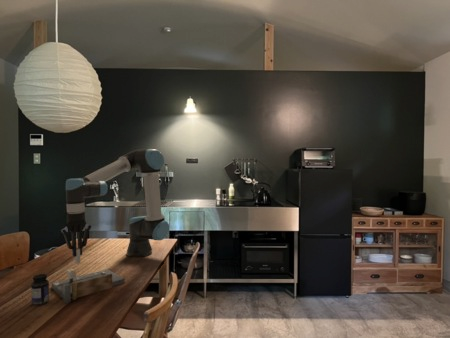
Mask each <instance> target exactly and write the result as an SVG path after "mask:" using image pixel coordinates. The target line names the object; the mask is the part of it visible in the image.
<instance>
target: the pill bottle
mask: <svg viewBox="0 0 450 338" xmlns="http://www.w3.org/2000/svg"><path fill="white" fill-rule="evenodd" d="M47 278H48V277H47V274H46V273H39V274H35V275H34V276H33V277H32V279H33V280H32V283H31V286H30V290H31V291H30V292H31V296H30V297H31V298H30V299H31V306H35V307H40V306H44V305H46V304H47V303H49V302H50V282H49V280H48V279H47Z"/></svg>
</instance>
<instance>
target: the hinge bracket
mask: <svg viewBox="0 0 450 338" xmlns="http://www.w3.org/2000/svg"><path fill="white" fill-rule="evenodd" d="M71 299H72V298H71V293H70V284H69V283H65V284H63V298H62V302H63V303H64V304H68V303H71V301H72V300H71Z"/></svg>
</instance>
